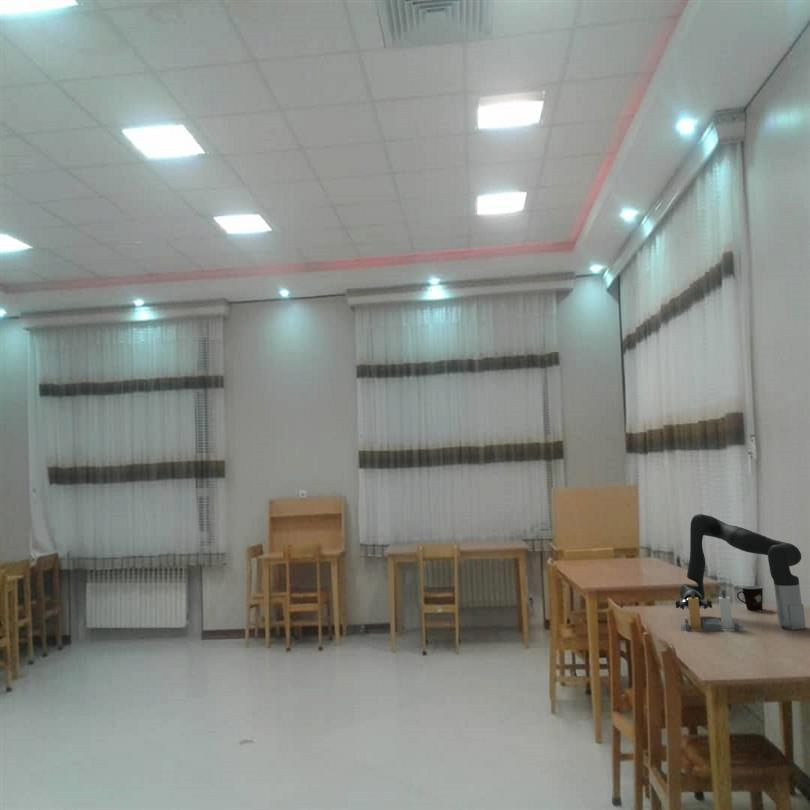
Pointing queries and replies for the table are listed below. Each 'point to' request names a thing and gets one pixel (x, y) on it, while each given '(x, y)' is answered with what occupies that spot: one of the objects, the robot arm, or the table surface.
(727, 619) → the white bottle
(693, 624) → the orange plug
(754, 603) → the coffee mug
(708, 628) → the cable rack
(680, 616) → the table surface
